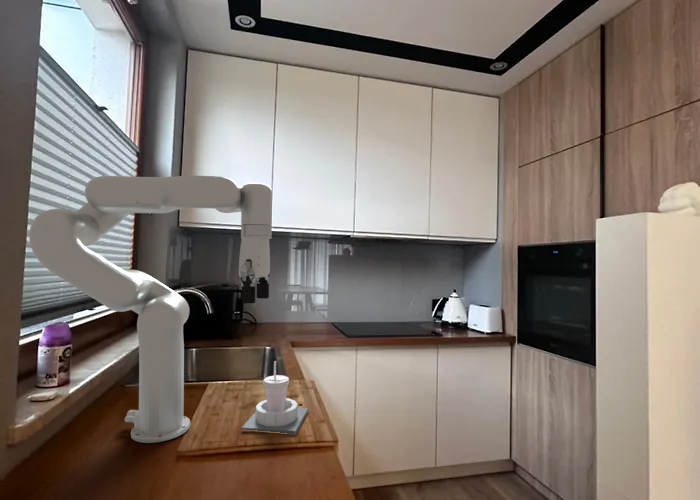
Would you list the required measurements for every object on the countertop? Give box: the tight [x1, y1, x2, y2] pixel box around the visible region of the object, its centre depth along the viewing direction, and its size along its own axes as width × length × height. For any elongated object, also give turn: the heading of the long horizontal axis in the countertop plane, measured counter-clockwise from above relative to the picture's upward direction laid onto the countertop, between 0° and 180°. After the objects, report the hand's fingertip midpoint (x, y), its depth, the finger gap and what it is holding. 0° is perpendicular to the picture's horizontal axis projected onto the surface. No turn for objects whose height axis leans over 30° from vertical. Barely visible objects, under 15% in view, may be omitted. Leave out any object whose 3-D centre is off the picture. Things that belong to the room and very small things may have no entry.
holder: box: [241, 397, 309, 436], centre depth 96 cm, size 13×13×4 cm
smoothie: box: [262, 360, 290, 412], centre depth 95 cm, size 6×6×14 cm
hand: (255, 300), depth 96 cm, fingers open, 9 cm apart
